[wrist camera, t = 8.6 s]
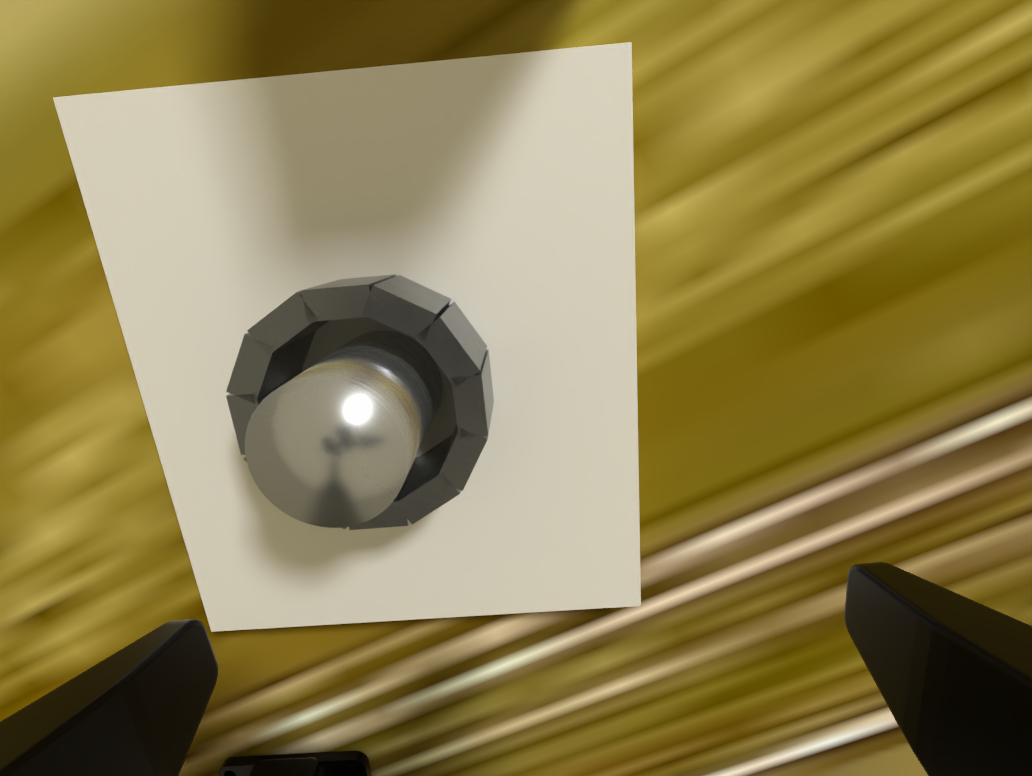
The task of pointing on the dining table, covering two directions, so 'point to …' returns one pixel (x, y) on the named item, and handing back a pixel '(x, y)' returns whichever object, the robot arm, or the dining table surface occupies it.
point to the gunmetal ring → (411, 310)
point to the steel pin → (345, 430)
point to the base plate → (375, 252)
